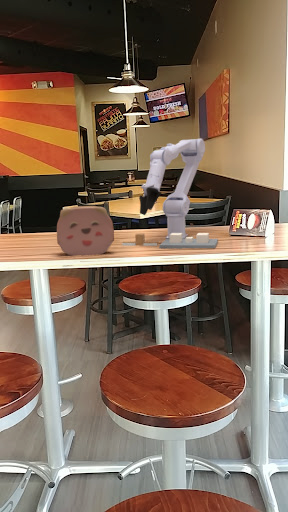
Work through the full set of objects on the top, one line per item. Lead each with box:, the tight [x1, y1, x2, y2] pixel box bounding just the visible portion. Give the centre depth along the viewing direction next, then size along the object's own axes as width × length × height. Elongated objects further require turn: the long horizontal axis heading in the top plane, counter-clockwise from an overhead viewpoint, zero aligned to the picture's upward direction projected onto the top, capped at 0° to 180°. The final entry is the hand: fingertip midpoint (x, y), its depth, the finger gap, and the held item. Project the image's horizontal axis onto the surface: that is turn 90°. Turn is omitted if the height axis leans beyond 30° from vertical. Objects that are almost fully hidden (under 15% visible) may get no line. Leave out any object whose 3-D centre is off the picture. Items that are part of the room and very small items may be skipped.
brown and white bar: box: [121, 233, 159, 247], centre depth 169 cm, size 3×14×4 cm, turn 76°
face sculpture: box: [56, 205, 115, 257], centre depth 155 cm, size 20×7×17 cm, turn 94°
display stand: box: [158, 232, 219, 249], centre depth 165 cm, size 14×20×4 cm
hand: (145, 211), depth 164 cm, fingers open, 7 cm apart
